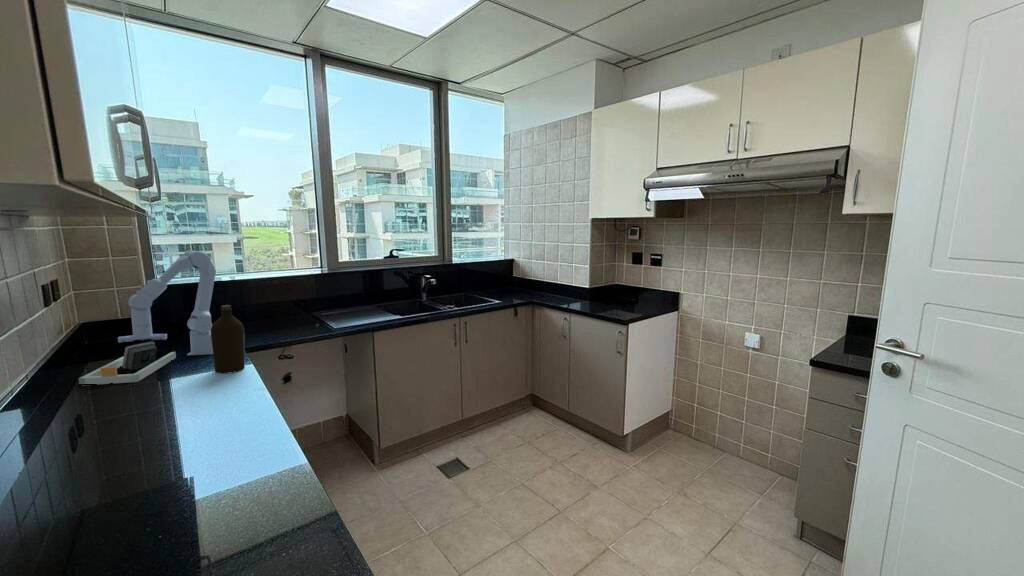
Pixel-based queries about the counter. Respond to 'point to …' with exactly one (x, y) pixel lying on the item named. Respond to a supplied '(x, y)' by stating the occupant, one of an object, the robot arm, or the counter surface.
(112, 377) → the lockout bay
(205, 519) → the counter surface
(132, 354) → the electrical switch
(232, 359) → the olive oil
